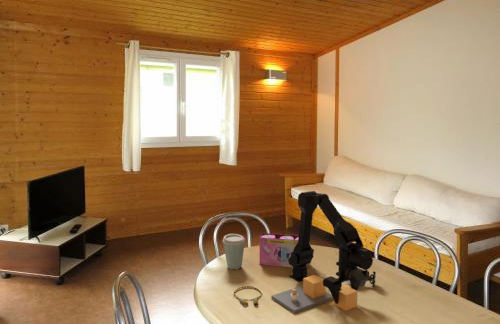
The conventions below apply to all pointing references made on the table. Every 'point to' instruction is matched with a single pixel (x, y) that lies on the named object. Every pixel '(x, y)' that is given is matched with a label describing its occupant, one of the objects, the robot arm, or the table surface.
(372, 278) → the valve
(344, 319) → the table surface
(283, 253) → the gum box
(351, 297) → the matte orange cube
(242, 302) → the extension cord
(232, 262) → the disposable coffee cup
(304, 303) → the board
